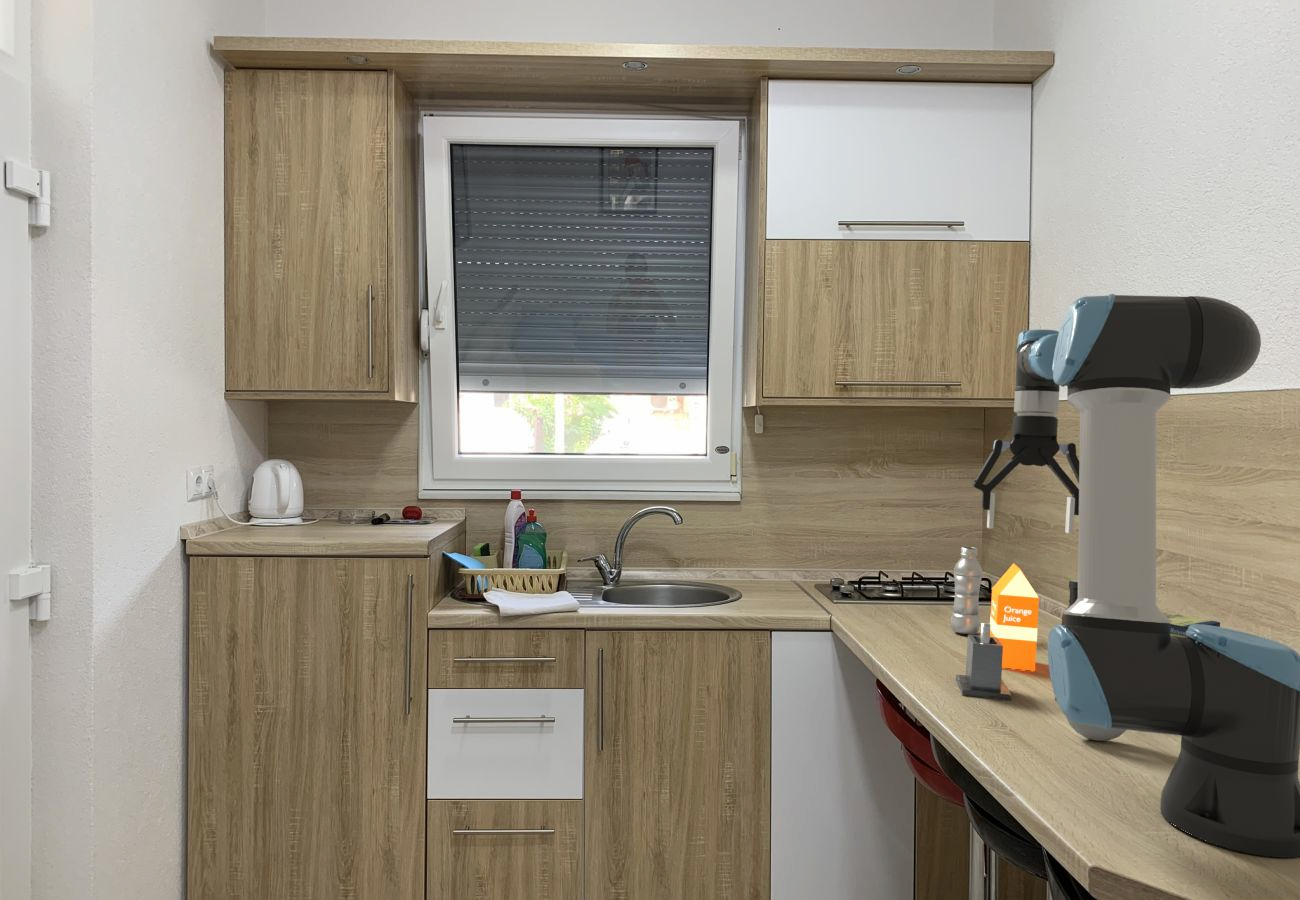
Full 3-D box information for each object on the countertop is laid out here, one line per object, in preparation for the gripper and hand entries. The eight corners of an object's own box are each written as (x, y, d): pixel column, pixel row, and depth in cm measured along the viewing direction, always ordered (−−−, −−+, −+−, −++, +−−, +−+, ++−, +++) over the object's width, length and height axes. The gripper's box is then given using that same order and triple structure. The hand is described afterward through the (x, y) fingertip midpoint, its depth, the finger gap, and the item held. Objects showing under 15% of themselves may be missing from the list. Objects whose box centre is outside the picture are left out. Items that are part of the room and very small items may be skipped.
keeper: (1010, 700, 152) (1014, 631, 152) (962, 695, 154) (966, 627, 154) (1001, 684, 162) (1004, 620, 162) (955, 679, 164) (959, 616, 164)
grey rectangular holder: (1000, 691, 154) (1003, 646, 154) (970, 688, 155) (973, 643, 155) (994, 680, 161) (996, 637, 161) (965, 677, 162) (967, 634, 162)
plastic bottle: (950, 635, 201) (955, 548, 200) (949, 629, 207) (954, 545, 207) (980, 638, 199) (985, 550, 199) (978, 632, 206) (983, 547, 205)
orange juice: (993, 667, 174) (999, 567, 174) (987, 656, 183) (992, 561, 182) (1036, 671, 172) (1041, 570, 172) (1027, 660, 181) (1033, 564, 180)
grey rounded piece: (1126, 739, 135) (1130, 674, 134) (1136, 747, 131) (1140, 681, 131) (1058, 733, 136) (1062, 669, 136) (1066, 741, 133) (1070, 675, 132)
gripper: (1103, 418, 162) (1097, 532, 162) (961, 413, 167) (955, 523, 168) (1115, 417, 154) (1108, 537, 155) (966, 411, 160) (960, 527, 161)
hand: (1029, 530), depth 161 cm, fingers open, 13 cm apart
